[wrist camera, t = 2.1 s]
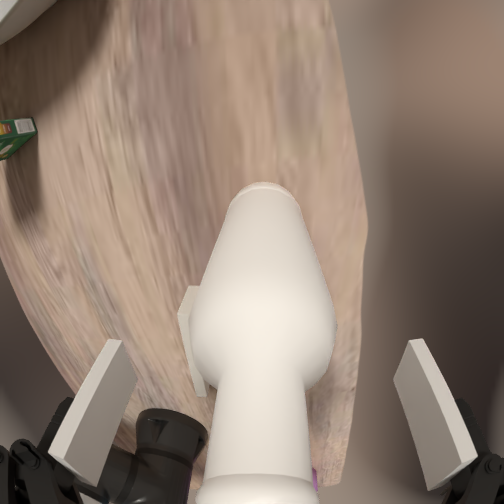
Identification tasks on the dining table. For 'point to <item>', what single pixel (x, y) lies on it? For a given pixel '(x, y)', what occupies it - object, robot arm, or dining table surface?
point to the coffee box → (15, 135)
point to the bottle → (261, 350)
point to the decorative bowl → (19, 15)
